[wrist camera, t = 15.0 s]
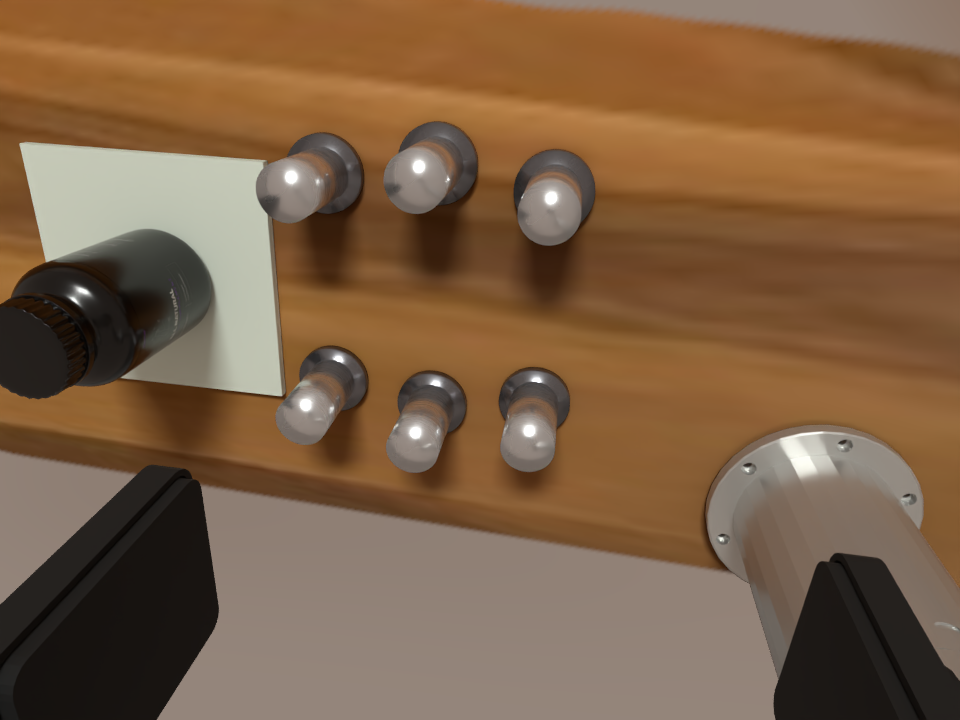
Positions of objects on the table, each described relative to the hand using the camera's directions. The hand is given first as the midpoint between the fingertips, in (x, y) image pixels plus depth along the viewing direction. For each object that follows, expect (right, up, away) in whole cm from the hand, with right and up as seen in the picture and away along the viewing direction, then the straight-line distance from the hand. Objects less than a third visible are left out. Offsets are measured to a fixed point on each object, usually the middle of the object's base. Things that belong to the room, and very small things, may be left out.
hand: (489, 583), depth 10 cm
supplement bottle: (-20, +9, +32) cm, 39 cm away
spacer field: (-3, +8, +31) cm, 32 cm away
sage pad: (-20, +9, +33) cm, 39 cm away
